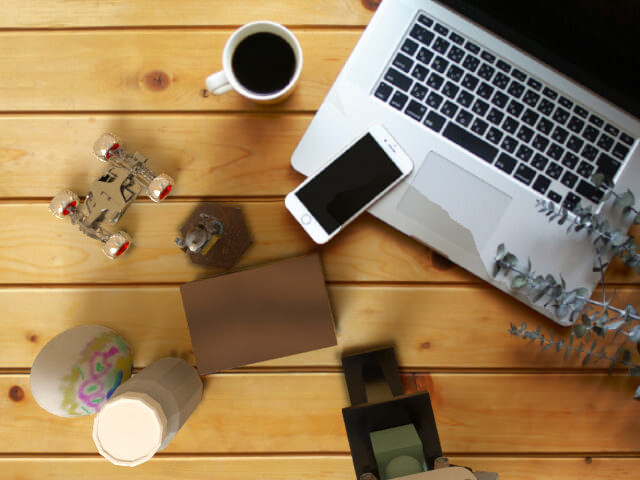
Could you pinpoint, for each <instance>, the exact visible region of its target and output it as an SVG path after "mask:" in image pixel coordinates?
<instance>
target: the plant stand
mask: <svg viewBox="0 0 640 480" xmlns="http://www.w3.org/2000/svg"><path fill="white" fill-rule="evenodd" d="M340 362H341V366H342V370H343V374H344V379H345V384H346V388H347V392H348V397H349V402H350V406H346V407H342V408H341V416H342V419H343V424H344V429H345V433H346V437H347V443H348V447H349V451H350V455H351V460H352V464H353V469H354V473H355V478H356V480H360V476H361V475H363V470H362V466H367V465H369V461H368V456H367V452H369V451H372V452H374V450H373V445H372V441H371V436H370V433H372V432H376V431H381V430H386V429H390V428H395V427H399V426H404V425H409V424H413V426H414V428H415V430H416V432H417V434H418V436H419V438H420V440H425V439H427V441H428V443H429V445H430V447H431V449H432V451H436V450H438V451H439V453H440V455H441V457H444V454H443V449H442V445H441V439H440V436H439V431H438V425H437V422H436V416H435V413H434V408H433V404H432V399H431V395H430V392H429V390H428V389H424V390H419V391H415V392H410V393H406V394H405V391H404V388H403V383H402V379H401V378H402V377H401V374H400V370H399V365H398V364H399V363H398V361H397V355H396V351H395V346H394V345H393V344H390V345H385V346H381V347H377V348H372V349H368V350H362V351H359V352H354V353H350V354H344V355H340Z"/></svg>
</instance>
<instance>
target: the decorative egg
mask: <svg viewBox="0 0 640 480" xmlns="http://www.w3.org/2000/svg"><path fill="white" fill-rule="evenodd" d="M133 372H134V357H133V352H132V349H131V348H130V346H129V343H128V341H126V339H125V338H124V337H123V336H122V335H121V334H120V333H118V332H116V331H115V330H113V329H111V328H109V327H106V326H103V325H99V324H82V325H81V324H80V325H77V326H74V327H70V328H68V329H65V330H63V331H61V332H59V333H57V334H56V335H55V336H53V337H52V338H51V339H50V340H49V341H47V342H46V343H45V345H44V346H43V347H42V348H41V349H40V350H39V351H38V353H37V355H36V356H35V359H34V360H33V363H32V365H31V367H30V371H29V389H30V393H31V394H32V396H33V399H34V400H35V402H36V403H37V405H38V406H39V407H41V408H42V409H43V410H44V411H46V412H48V413H50V414H52V415H55V416H57V417H61V418H66V419H67V418H68V419H69V418H70V419H71V418H72V419H73V418H74V419H75V418H84V417H88V416H92V415H95V414H98V412H99V411H100V410H101V408H102V407H103V406H104V404H105V403H106V402H107V401H108V399H109V398H110V397H111V395H112V394H113V393H114V391H115V390H116V389H117V387H118V386H120V385H121V384H123V383H124V382H125V381H127V380H128V379H130V378H131V377H132V376H133Z"/></svg>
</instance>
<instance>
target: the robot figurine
mask: <svg viewBox="0 0 640 480" xmlns="http://www.w3.org/2000/svg"><path fill="white" fill-rule="evenodd" d="M180 234H181V236H182V239H181V238H180V237H178V236H176V237H175V239H174V240H173V241H174V243H175V244H176V245H177V246H178V247H180V248H179V250H181V252H183V253H184V254H187V253H188V255H189V258H190V261H191V264H192V265H198V266H204V267H208V268H215V269H219V270H220V269H221V270H225V271H229V270H231V268H232V267H233V266H234V264H236V262H238V260H239V258H240V257H241V256H242V255H243V254H244V253H245V252H246V250H247V249H248V248H249V247H250V245H251V244H253V241H252V238H251V235H250V233H249V230H248V227H247V224H246V222H245V219H244V216H243V213H242V210H241V208H239V207H233V206H227V205H222V204H217V203H212V202H206V201H203V202H201V204H200V205H199V206H198V207H197V209H196V210H195V212H193V214H192V215H191V216H190V217H189V218H188V220H187V221H186V222H185V223H184V224H183V226H182V227H181V228H180Z"/></svg>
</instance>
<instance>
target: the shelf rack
mask: <svg viewBox="0 0 640 480" xmlns="http://www.w3.org/2000/svg"><path fill="white" fill-rule="evenodd" d="M178 288H179V293H180V297H181V301H182V306H183V311H184V314H185V315H184V316H185V319H186V324H187V329H188V332H189V337H190V342H191V346H192V352H193V355H194V359H195V365H196V370H197V372H198V374H199V377H200V376H205V375H209V374H213V373H218V372H222V371H226V370H232V369H235V368H241V367H245V366H249V365H255V364H259V363H264V362H268V361H272V360H277V359H283V358H286V357H291V356H295V355H299V354H305V353H309V352H315V351H318V350H323V349H327V348H332V347H336V346H338V345H339V344H338V335H337V328H336V324H335V319H334V314H333V310H332V306H331V301H330V295H329V292H328V287H327V283H326V278H325V274H324V269H323V264H322V260H321V255H320V252H319V251H317V252H312V253H308V254H304V255H299V256H295V257H290V258H286V259H282V260H281V259H280V260H276V261H272V262H268V263H263V264H259V265H255V266H250V267H246V268H241V269H235V270H232V271H228V272H227V271H226V272H222V273H219V274H213V275H209V276H205V277H204V276H203V277H201V278H197V279H194V280H190V281H188V282H185V283H181V284H179V285H178Z"/></svg>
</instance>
